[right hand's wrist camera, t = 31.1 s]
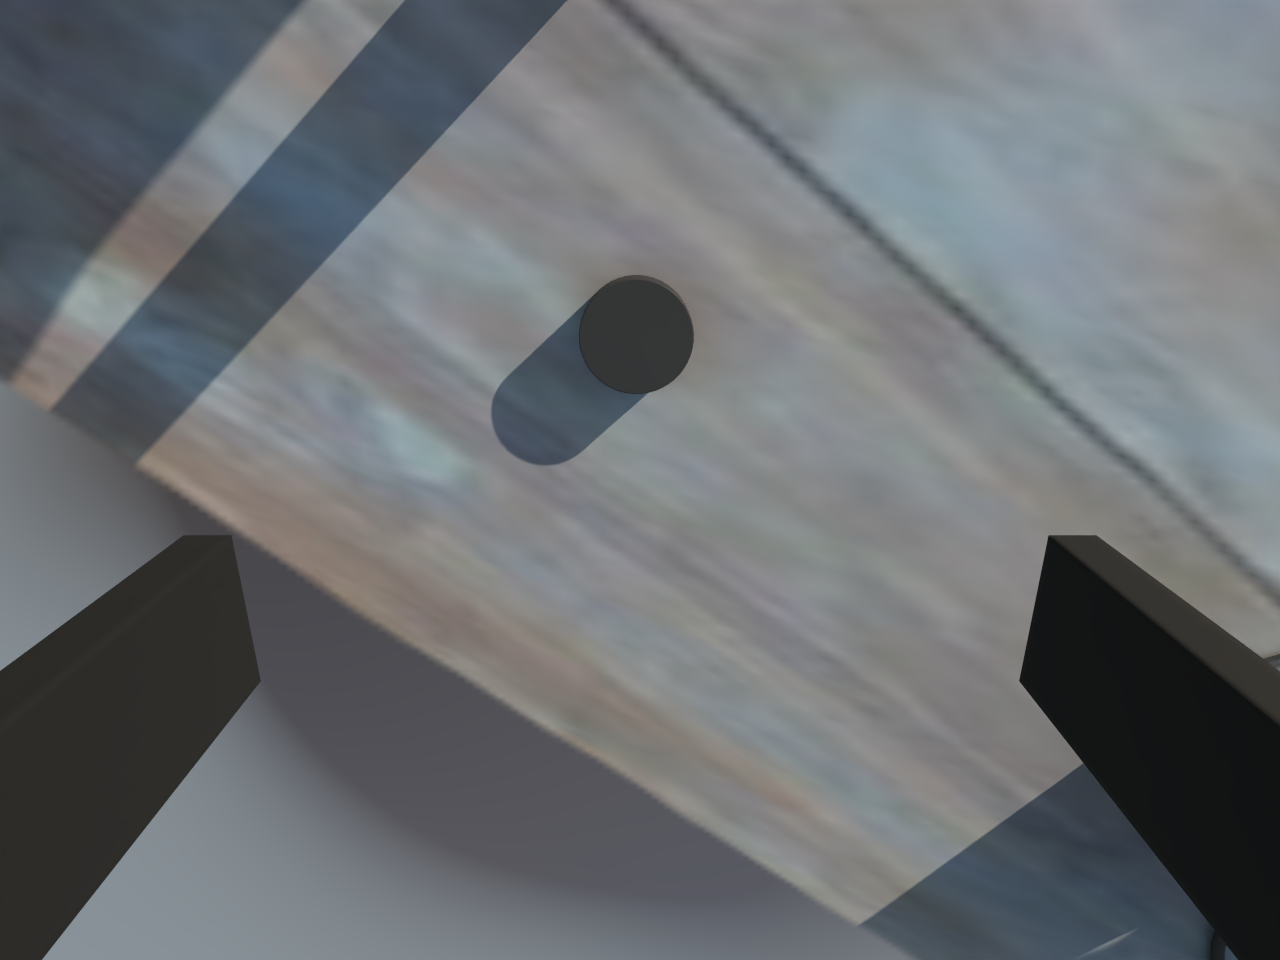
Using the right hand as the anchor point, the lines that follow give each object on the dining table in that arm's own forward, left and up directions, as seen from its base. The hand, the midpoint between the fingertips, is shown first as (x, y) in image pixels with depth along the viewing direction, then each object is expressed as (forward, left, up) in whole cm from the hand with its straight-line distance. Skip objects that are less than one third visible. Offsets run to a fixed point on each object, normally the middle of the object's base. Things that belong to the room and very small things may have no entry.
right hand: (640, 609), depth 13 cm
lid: (0, 0, -25) cm, 25 cm away
